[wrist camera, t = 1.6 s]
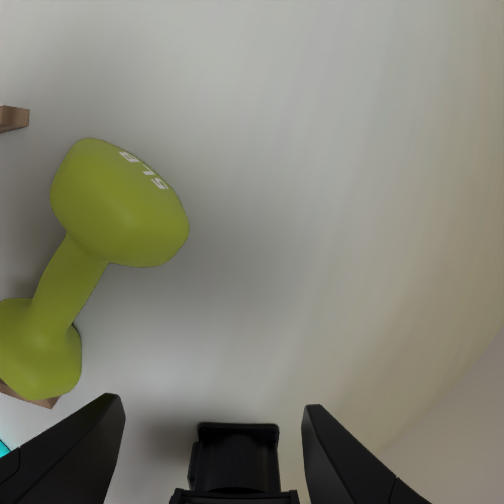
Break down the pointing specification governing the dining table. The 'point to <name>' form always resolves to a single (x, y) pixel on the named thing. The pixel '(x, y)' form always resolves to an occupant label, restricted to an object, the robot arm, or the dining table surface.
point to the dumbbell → (86, 260)
